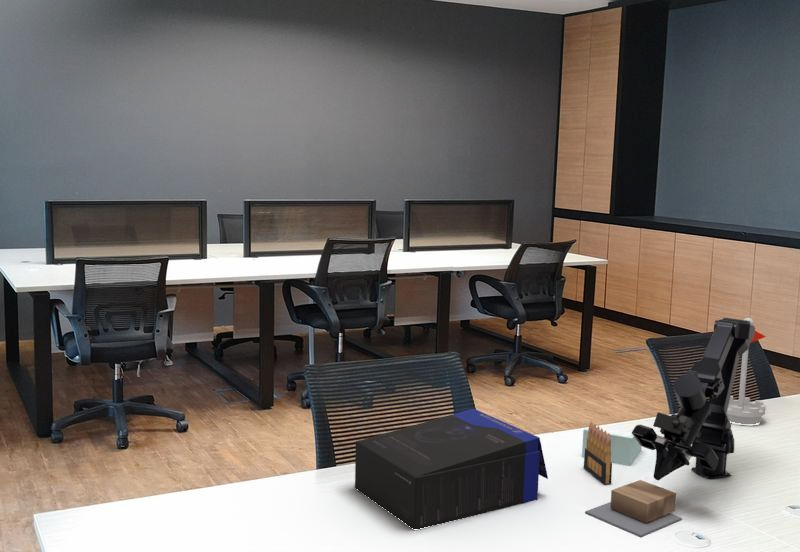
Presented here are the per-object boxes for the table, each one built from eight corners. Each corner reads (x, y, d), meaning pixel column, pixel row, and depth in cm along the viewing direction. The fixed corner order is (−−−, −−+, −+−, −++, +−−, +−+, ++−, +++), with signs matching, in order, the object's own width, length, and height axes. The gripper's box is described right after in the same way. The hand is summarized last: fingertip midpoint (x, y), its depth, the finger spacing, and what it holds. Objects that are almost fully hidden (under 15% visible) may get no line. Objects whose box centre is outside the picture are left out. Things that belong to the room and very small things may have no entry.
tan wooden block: (640, 479, 188) (611, 490, 182) (676, 493, 181) (647, 504, 175) (639, 498, 188) (610, 509, 182) (674, 512, 181) (646, 524, 175)
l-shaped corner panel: (641, 453, 220) (643, 425, 219) (630, 468, 209) (632, 438, 208) (594, 444, 225) (596, 417, 224) (581, 458, 215) (583, 429, 214)
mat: (626, 497, 190) (626, 496, 190) (681, 519, 179) (681, 517, 179) (585, 513, 181) (585, 511, 181) (640, 537, 170) (640, 535, 170)
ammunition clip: (611, 484, 197) (614, 434, 196) (604, 485, 197) (607, 434, 195) (590, 467, 208) (593, 419, 206) (583, 468, 207) (586, 420, 205)
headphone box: (548, 498, 189) (551, 435, 187) (414, 531, 171) (416, 462, 169) (480, 462, 210) (482, 405, 208) (354, 489, 191) (355, 427, 189)
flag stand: (720, 425, 243) (728, 321, 239) (711, 411, 256) (719, 312, 251) (769, 428, 241) (778, 323, 237) (758, 415, 254) (766, 315, 249)
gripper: (639, 388, 192) (605, 446, 186) (715, 409, 177) (680, 472, 172) (658, 417, 198) (625, 473, 192) (733, 439, 183) (699, 500, 178)
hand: (655, 478), depth 183 cm, fingers closed
